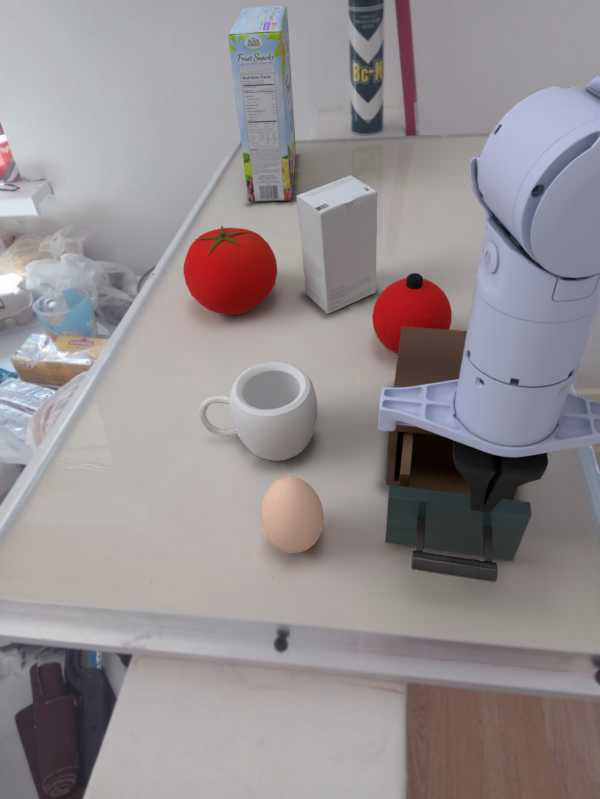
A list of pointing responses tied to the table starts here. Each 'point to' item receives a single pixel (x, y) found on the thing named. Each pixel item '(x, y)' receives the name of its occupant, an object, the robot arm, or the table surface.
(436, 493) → the drawer
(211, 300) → the tomato
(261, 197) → the snack box
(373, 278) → the cosmetic box
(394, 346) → the ornament
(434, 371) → the cabinet
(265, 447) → the mug
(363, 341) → the table surface
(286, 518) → the egg
